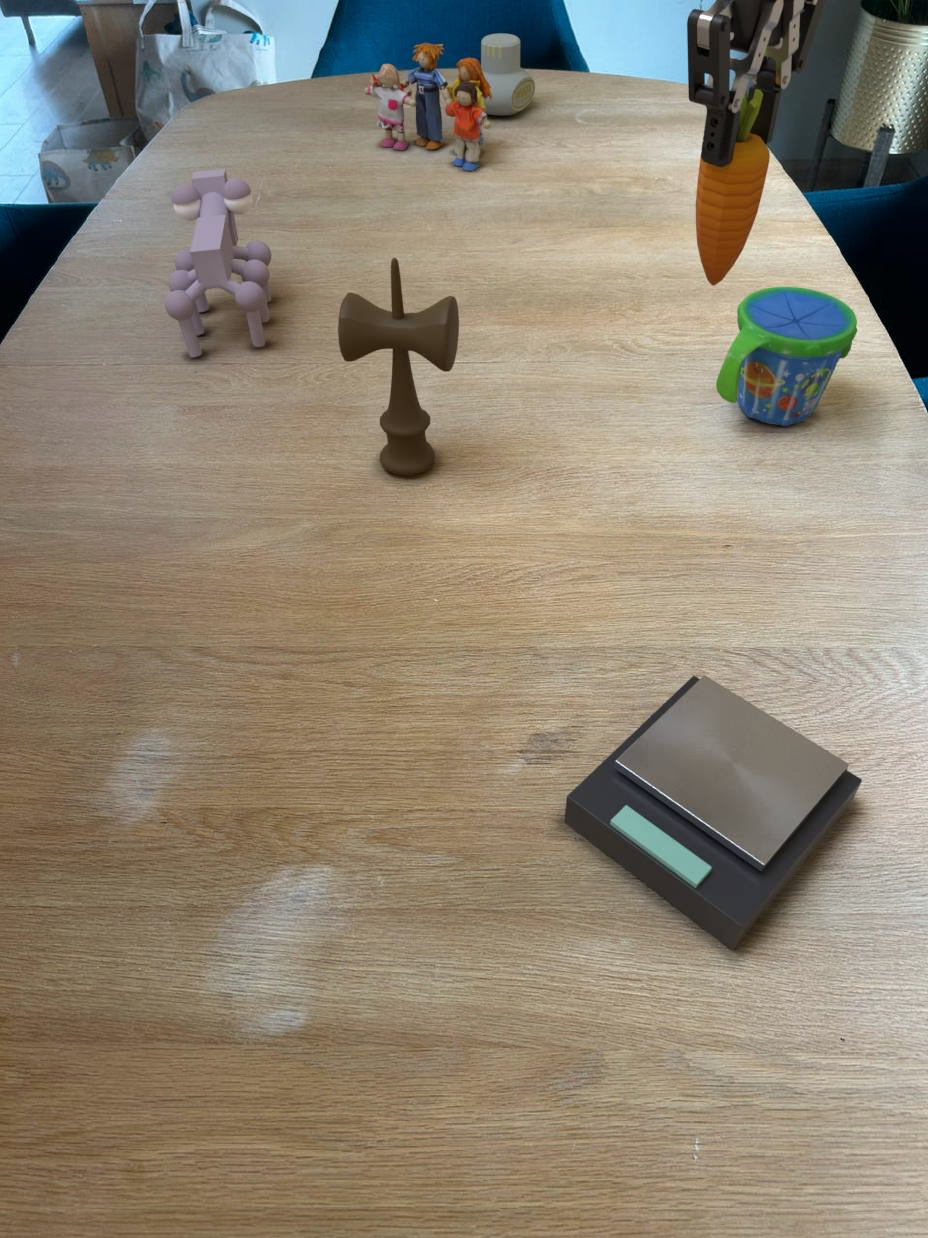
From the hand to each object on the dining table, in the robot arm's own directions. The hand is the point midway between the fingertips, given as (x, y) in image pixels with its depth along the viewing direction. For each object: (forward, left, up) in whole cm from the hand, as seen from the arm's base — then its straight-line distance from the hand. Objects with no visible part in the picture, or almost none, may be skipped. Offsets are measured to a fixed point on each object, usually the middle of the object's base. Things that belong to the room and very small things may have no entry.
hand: (736, 151), depth 73 cm
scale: (+31, +24, -28) cm, 48 cm away
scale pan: (+29, +24, -24) cm, 45 cm away
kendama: (+18, -18, -28) cm, 38 cm away
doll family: (-38, -69, -28) cm, 84 cm away
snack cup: (-13, +2, -28) cm, 31 cm away
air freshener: (-55, -73, -28) cm, 96 cm away
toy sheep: (+12, -53, -28) cm, 61 cm away
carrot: (0, 0, -11) cm, 11 cm away
